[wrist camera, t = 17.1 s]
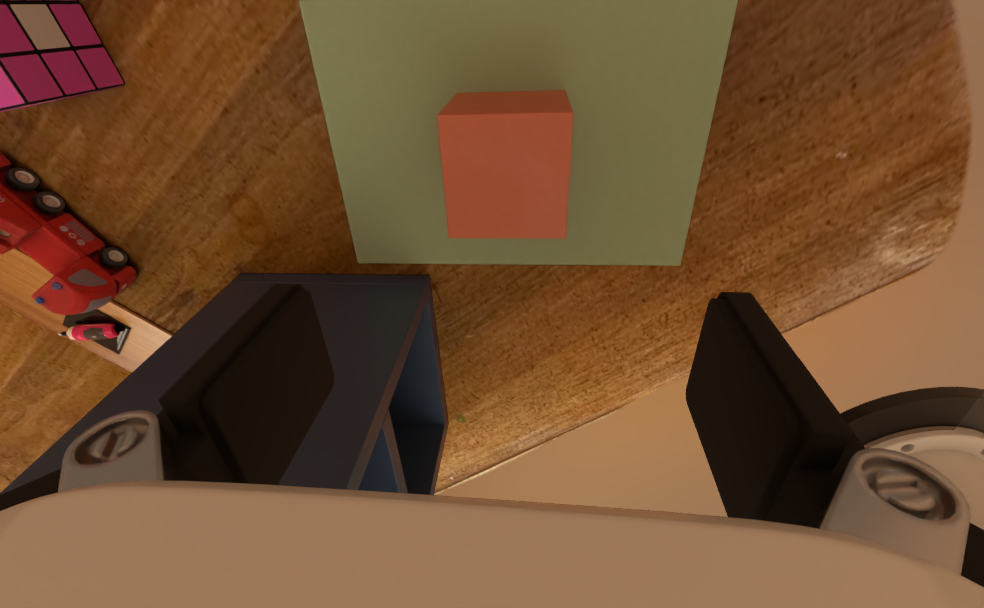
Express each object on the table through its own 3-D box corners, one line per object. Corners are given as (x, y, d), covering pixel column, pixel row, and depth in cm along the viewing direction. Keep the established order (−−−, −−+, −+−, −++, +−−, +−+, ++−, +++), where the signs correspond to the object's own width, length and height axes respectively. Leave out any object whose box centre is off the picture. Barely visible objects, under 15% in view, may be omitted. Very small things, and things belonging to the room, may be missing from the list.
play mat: (739, -20, 20) (742, -20, 20) (678, 262, 28) (680, 266, 27) (301, 0, 22) (298, 0, 21) (359, 260, 29) (357, 263, 29)
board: (6, 240, 31) (-17, 251, 30) (178, 337, 34) (165, 349, 33) (-6, 298, 34) (-27, 309, 32) (154, 381, 37) (141, 394, 36)
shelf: (429, 274, 30) (256, 716, 11) (448, 423, 37) (364, 829, 19) (240, 273, 31) (-198, 671, 12) (296, 417, 38) (78, 794, 20)
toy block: (566, 89, 22) (573, 111, 18) (560, 196, 26) (566, 239, 21) (456, 92, 23) (436, 114, 18) (463, 197, 26) (448, 238, 21)
